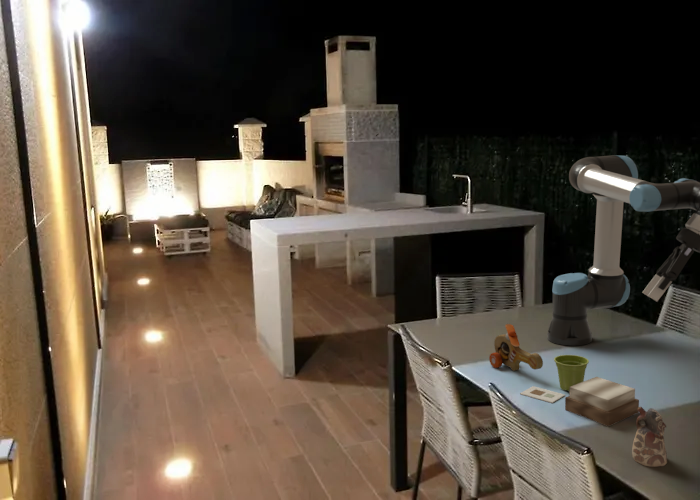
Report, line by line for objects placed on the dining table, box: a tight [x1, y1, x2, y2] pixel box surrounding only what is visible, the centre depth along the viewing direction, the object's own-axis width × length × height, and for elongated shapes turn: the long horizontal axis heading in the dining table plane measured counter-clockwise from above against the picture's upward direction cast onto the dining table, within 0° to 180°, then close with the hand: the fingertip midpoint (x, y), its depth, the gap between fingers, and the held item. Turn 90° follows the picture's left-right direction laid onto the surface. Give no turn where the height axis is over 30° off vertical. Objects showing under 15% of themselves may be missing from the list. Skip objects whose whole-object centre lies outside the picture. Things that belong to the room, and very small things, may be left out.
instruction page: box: [520, 385, 566, 404], centre depth 182 cm, size 10×7×1 cm
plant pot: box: [553, 354, 590, 393], centre depth 185 cm, size 9×9×9 cm
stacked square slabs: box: [564, 376, 640, 427], centre depth 169 cm, size 13×13×6 cm
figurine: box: [631, 406, 668, 468], centre depth 143 cm, size 7×7×12 cm
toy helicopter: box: [488, 323, 544, 372], centre depth 199 cm, size 8×21×14 cm, turn 26°
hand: (649, 297), depth 179 cm, fingers open, 13 cm apart
